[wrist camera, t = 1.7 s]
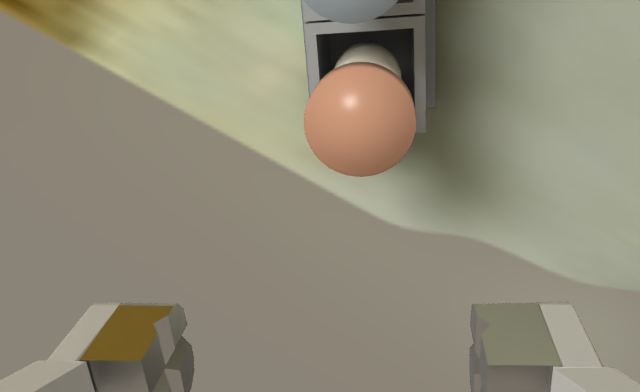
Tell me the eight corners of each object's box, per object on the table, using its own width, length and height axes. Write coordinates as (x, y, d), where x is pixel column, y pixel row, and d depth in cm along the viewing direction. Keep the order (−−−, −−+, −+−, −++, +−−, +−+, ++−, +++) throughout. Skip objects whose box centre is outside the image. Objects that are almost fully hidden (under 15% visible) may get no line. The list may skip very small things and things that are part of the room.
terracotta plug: (408, 29, 27) (415, 65, 20) (410, 113, 29) (416, 174, 22) (322, 35, 28) (299, 71, 21) (329, 117, 29) (308, 178, 22)
